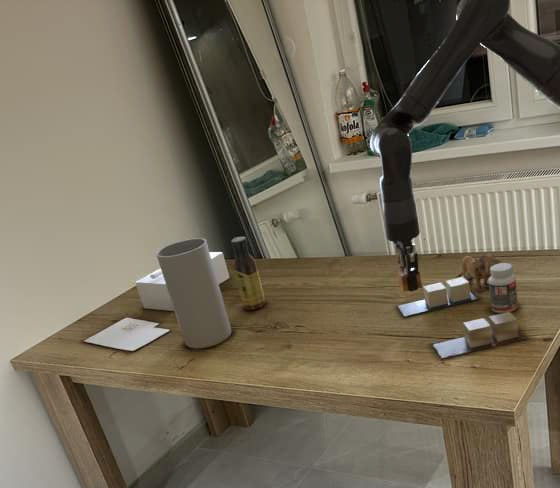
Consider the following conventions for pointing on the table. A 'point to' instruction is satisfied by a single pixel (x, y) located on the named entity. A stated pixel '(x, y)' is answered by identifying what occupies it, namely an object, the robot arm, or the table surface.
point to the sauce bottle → (247, 275)
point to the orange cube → (403, 280)
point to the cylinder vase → (194, 293)
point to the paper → (128, 334)
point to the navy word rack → (440, 297)
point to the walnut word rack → (482, 336)
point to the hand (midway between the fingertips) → (410, 286)
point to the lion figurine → (478, 268)
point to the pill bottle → (502, 288)
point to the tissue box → (156, 290)
